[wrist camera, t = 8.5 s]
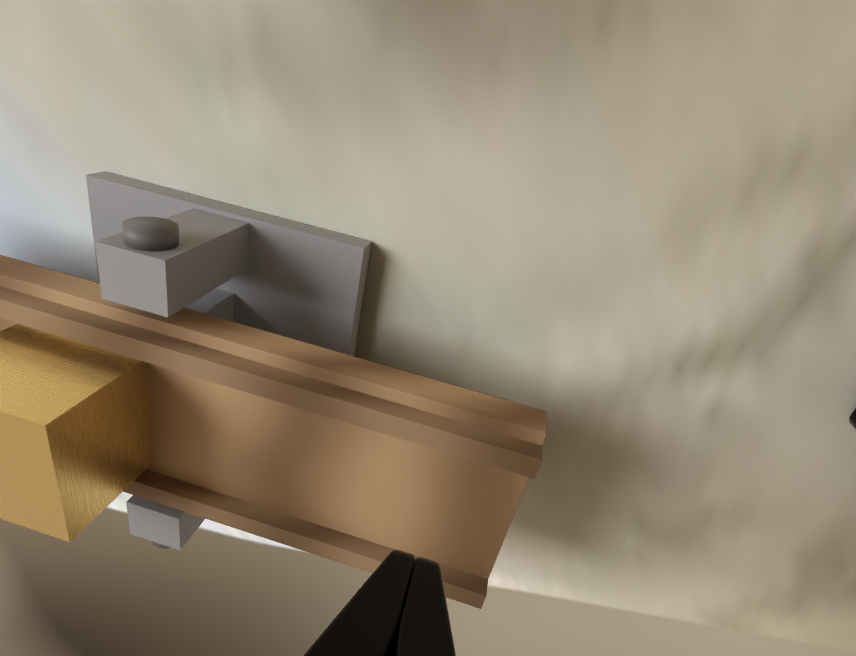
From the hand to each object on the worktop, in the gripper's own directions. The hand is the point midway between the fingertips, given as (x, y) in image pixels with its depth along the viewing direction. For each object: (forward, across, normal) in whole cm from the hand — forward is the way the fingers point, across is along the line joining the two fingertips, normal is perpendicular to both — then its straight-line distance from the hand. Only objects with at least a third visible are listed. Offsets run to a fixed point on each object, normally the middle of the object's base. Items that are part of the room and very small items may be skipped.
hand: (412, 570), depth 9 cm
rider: (+7, +14, +6) cm, 16 cm away
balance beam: (+8, +11, +6) cm, 15 cm away
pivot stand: (+13, +11, +6) cm, 18 cm away
